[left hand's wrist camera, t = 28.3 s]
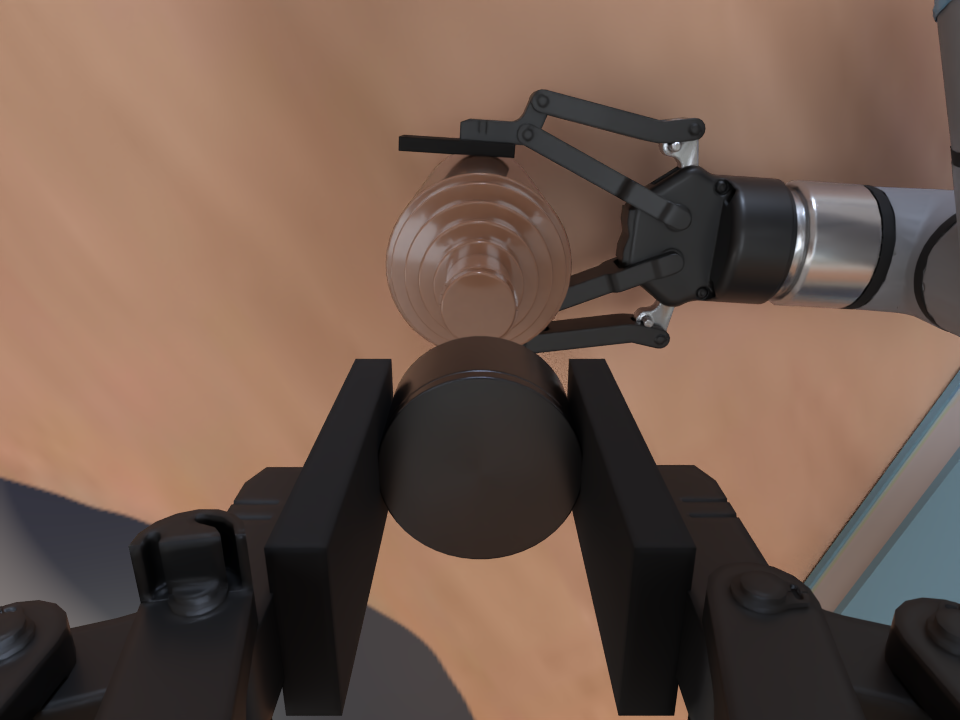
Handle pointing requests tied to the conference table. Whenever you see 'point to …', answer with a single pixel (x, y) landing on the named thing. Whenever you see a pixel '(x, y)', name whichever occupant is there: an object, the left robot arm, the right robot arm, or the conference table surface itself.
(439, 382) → the cap
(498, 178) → the bottle
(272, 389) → the conference table surface
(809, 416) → the conference table surface
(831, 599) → the book
